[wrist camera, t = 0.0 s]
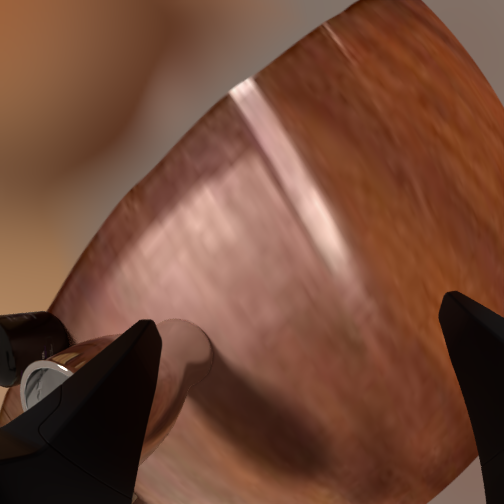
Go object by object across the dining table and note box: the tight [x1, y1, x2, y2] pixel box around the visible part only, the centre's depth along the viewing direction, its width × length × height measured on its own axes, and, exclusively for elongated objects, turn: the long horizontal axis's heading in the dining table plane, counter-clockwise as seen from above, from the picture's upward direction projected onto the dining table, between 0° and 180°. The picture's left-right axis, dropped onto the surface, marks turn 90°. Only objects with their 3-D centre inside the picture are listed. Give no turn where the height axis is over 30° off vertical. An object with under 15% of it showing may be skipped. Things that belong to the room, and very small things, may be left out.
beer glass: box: [20, 319, 213, 467], centre depth 16 cm, size 7×7×15 cm
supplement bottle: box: [0, 311, 69, 388], centre depth 19 cm, size 7×7×12 cm
